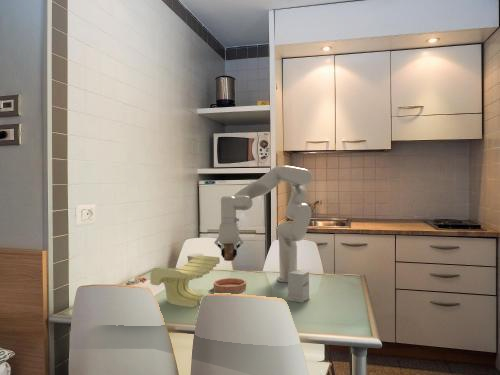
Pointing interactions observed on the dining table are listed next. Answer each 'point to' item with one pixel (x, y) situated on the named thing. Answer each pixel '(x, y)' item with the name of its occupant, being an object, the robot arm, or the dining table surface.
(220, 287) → the round tray
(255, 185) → the robot arm
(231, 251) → the walnut bead
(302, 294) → the supplement box
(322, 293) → the dining table surface
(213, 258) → the slatted curved stool
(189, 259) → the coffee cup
